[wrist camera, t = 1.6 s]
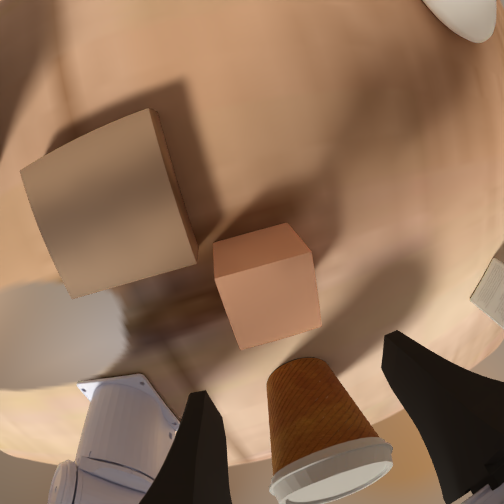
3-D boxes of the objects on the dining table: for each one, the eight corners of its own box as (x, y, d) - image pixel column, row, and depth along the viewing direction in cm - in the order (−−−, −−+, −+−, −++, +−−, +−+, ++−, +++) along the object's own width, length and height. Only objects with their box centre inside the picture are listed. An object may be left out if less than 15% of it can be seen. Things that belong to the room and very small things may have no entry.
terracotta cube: (299, 285, 21) (321, 326, 16) (232, 304, 21) (240, 350, 16) (286, 222, 19) (311, 251, 14) (212, 242, 19) (214, 278, 14)
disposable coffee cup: (349, 332, 23) (416, 440, 12) (340, 396, 27) (380, 484, 16) (242, 355, 23) (267, 488, 12) (254, 415, 26) (275, 515, 15)
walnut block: (198, 244, 19) (196, 263, 16) (87, 278, 18) (72, 299, 16) (158, 112, 15) (148, 107, 12) (43, 164, 15) (19, 170, 12)
